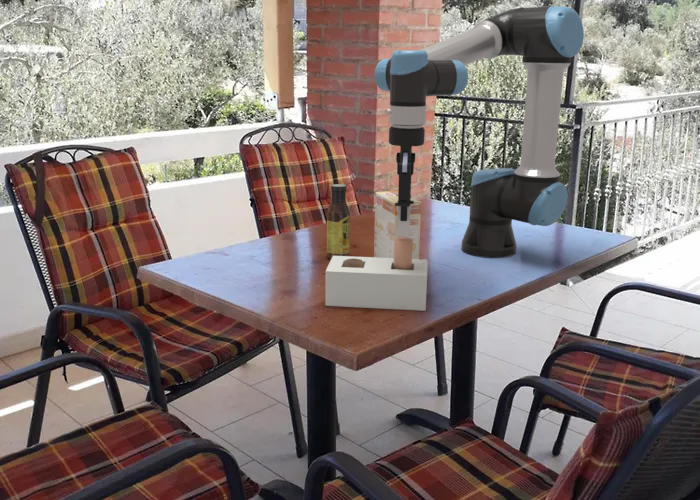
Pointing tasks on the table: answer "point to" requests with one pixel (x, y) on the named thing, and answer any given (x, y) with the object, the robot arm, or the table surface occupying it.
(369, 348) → the table surface
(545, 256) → the table surface
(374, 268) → the block
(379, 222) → the coffeecake box
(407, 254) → the peg
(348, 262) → the peg
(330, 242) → the sauce bottle
